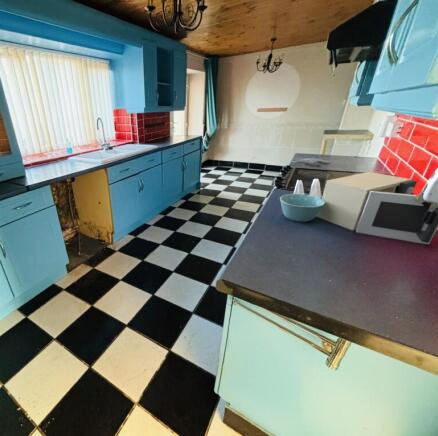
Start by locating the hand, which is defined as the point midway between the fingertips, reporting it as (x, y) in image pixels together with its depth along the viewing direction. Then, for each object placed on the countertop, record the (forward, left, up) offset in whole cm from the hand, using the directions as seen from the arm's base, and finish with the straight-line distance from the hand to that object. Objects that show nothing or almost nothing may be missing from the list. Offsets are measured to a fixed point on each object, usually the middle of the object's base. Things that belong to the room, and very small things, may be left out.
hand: (432, 223), depth 72 cm
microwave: (+22, -7, -9) cm, 25 cm away
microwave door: (+6, +2, -9) cm, 11 cm away
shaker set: (+46, -8, -9) cm, 48 cm away
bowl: (+33, +13, -9) cm, 37 cm away
